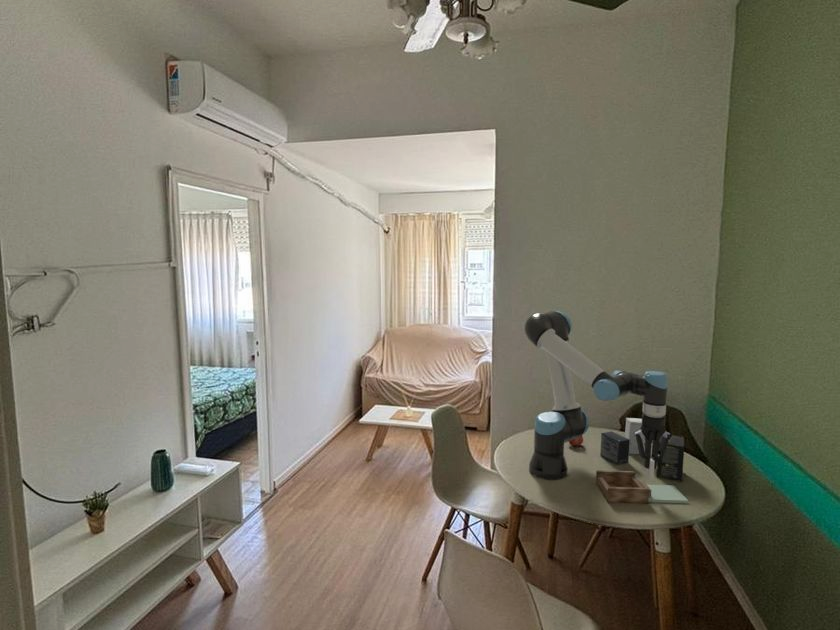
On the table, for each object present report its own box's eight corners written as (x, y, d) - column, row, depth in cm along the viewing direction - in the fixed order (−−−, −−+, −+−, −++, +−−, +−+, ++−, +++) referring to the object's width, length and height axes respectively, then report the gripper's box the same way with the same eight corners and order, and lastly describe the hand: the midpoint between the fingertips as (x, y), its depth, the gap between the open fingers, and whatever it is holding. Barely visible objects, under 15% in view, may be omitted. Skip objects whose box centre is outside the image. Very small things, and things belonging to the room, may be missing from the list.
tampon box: (656, 466, 199) (658, 432, 197) (681, 470, 194) (684, 436, 192) (655, 477, 189) (657, 441, 187) (682, 482, 185) (684, 446, 183)
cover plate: (647, 503, 170) (648, 492, 170) (635, 488, 181) (636, 478, 181) (687, 504, 169) (688, 493, 169) (673, 489, 180) (674, 479, 180)
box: (608, 502, 169) (608, 488, 169) (595, 483, 183) (596, 470, 183) (648, 503, 169) (649, 489, 168) (632, 484, 183) (633, 471, 182)
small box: (629, 463, 202) (631, 439, 200) (617, 465, 199) (618, 441, 198) (611, 453, 211) (612, 430, 210) (599, 455, 209) (600, 432, 208)
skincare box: (628, 454, 210) (629, 422, 208) (623, 448, 216) (625, 417, 214) (647, 455, 209) (649, 422, 207) (642, 449, 215) (644, 417, 213)
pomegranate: (563, 448, 222) (574, 442, 214) (560, 433, 226) (570, 426, 217) (578, 448, 224) (589, 443, 215) (575, 433, 227) (585, 427, 219)
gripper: (639, 417, 168) (635, 480, 171) (677, 418, 168) (672, 481, 171) (631, 410, 176) (627, 471, 179) (667, 411, 175) (663, 472, 178)
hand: (649, 476), depth 175 cm, fingers closed
